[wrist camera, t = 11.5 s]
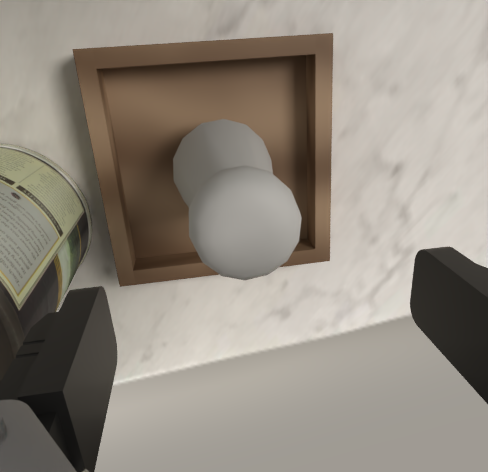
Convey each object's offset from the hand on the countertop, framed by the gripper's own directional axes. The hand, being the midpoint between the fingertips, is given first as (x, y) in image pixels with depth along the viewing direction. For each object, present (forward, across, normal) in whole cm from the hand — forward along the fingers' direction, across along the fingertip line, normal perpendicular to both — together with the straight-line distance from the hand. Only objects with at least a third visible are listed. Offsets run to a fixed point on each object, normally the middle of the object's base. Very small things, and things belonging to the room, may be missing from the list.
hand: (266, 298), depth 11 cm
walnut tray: (+18, 0, 0) cm, 18 cm away
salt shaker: (+18, 0, 0) cm, 18 cm away
